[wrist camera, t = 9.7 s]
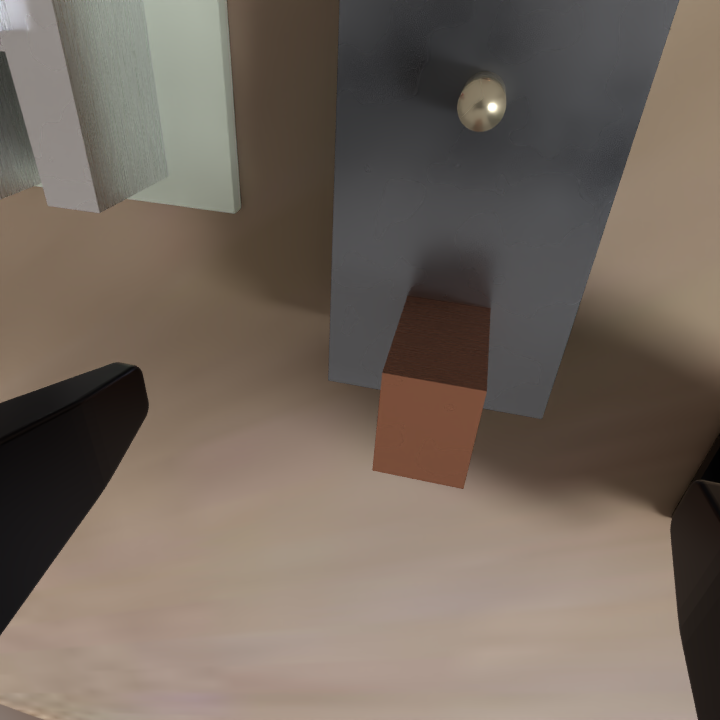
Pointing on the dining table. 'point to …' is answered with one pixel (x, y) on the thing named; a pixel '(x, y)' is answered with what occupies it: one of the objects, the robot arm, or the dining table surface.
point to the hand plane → (474, 202)
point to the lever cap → (78, 102)
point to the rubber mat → (194, 104)
